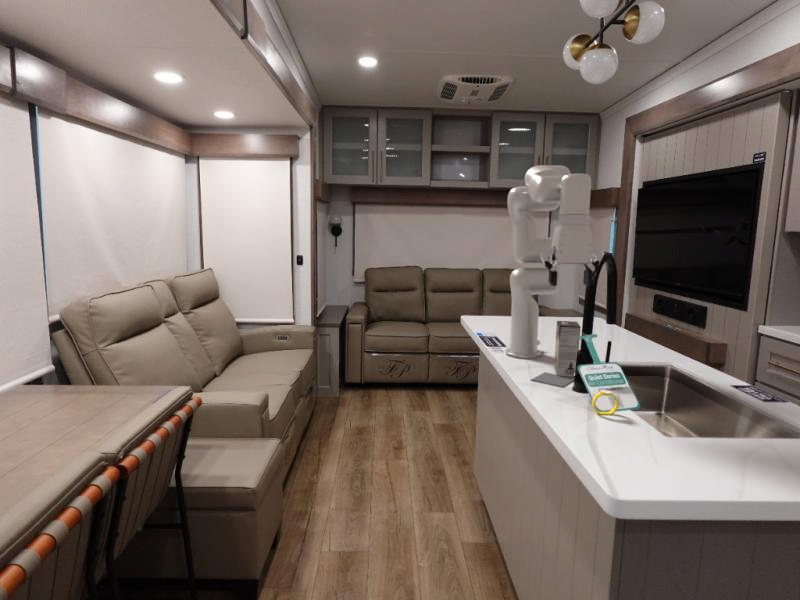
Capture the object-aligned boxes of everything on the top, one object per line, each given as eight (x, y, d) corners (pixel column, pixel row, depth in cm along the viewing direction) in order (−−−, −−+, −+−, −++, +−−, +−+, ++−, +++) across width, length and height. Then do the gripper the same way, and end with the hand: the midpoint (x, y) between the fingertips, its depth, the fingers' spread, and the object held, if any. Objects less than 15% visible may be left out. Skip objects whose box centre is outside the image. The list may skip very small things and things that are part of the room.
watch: (613, 413, 125) (617, 390, 124) (617, 417, 122) (621, 394, 121) (589, 411, 125) (592, 388, 124) (593, 415, 122) (596, 392, 121)
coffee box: (553, 368, 162) (556, 320, 160) (573, 369, 161) (577, 321, 159) (556, 375, 153) (559, 324, 151) (577, 377, 152) (581, 326, 150)
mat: (544, 373, 157) (544, 372, 157) (576, 379, 151) (576, 378, 151) (530, 380, 150) (530, 379, 150) (562, 387, 144) (562, 386, 143)
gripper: (597, 221, 137) (593, 283, 139) (537, 221, 135) (534, 283, 137) (611, 221, 129) (607, 286, 132) (548, 221, 127) (544, 287, 130)
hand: (570, 285), depth 135 cm, fingers open, 9 cm apart
